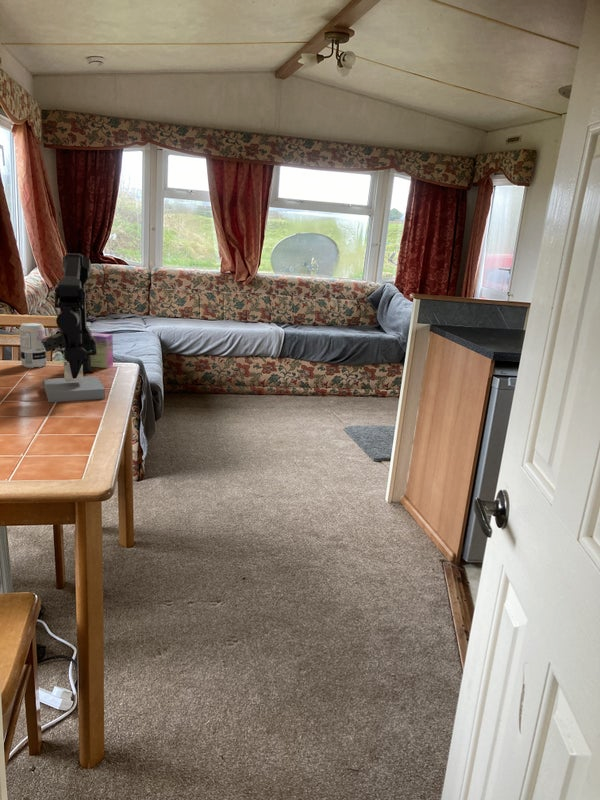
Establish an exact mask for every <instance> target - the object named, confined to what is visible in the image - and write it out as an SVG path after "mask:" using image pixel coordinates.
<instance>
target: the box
mask: <svg viewBox="0 0 600 800" xmlns="http://www.w3.org/2000/svg"><path fill="white" fill-rule="evenodd" d="M91 333H92V338H94V341H95V342H96V353H97V354H96V355H91V368H99V369H100V368H101V369H108V368H111V367H112V366H113V365H114V348H113V347H114V342H113V340H114V339H113V337H114V335H113V333H111V334H109V333H99V332H91ZM90 351H92V350H90Z"/></svg>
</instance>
